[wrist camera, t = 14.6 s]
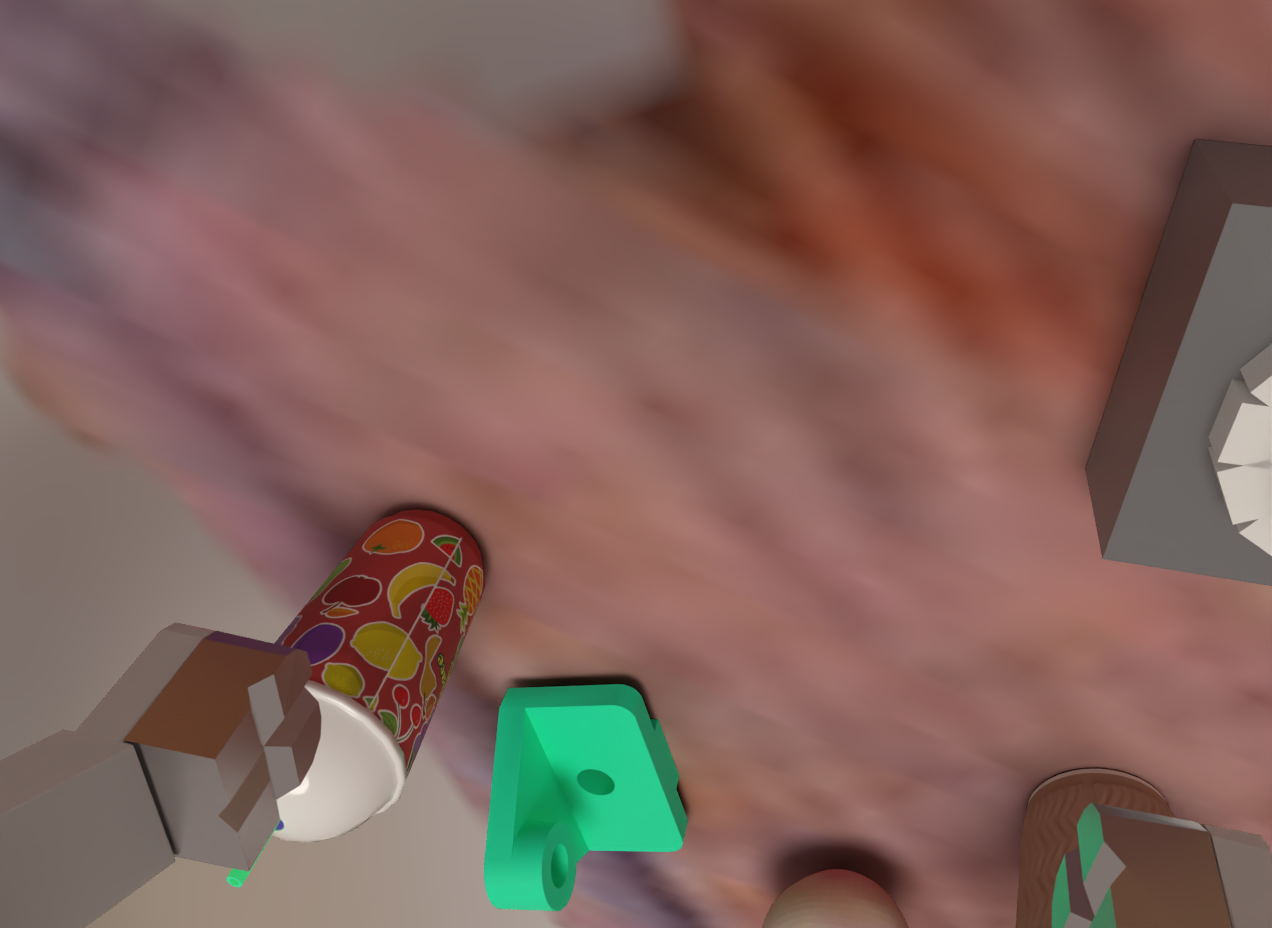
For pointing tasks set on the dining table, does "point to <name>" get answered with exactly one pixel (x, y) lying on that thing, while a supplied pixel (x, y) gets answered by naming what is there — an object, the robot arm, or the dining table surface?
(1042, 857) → the coffee cup
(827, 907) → the decorative fruit
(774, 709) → the dining table surface
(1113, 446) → the camera body
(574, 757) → the camera mount
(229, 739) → the robot arm
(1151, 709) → the dining table surface
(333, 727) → the smoothie
